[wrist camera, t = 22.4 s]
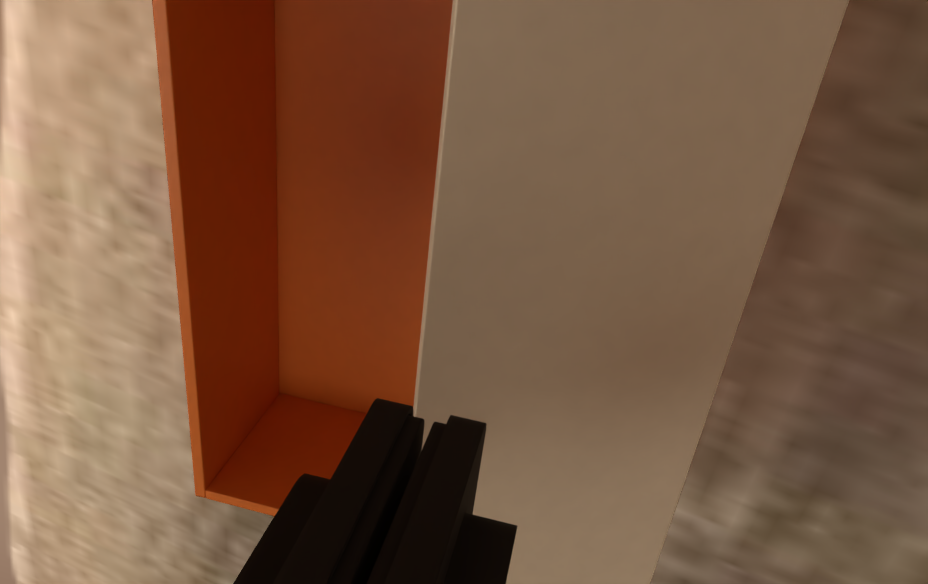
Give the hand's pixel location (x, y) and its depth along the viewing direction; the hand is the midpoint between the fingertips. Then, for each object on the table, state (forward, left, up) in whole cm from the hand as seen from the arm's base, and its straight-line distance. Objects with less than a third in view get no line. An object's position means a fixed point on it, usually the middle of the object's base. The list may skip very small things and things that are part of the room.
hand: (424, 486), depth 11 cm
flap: (0, +2, -3) cm, 4 cm away
